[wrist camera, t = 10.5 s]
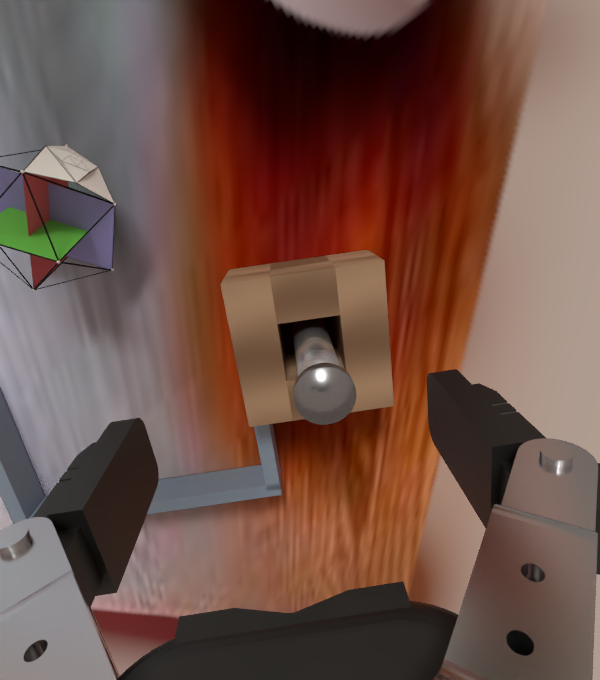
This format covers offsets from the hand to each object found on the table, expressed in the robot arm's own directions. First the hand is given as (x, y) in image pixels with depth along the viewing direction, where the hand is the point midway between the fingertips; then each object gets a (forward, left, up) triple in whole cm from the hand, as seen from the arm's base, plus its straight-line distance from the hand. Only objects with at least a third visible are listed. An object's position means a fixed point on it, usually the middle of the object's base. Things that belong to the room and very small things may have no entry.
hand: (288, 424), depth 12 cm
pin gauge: (+3, +1, -17) cm, 17 cm away
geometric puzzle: (-6, -12, -17) cm, 22 cm away
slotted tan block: (+3, +1, -17) cm, 17 cm away
